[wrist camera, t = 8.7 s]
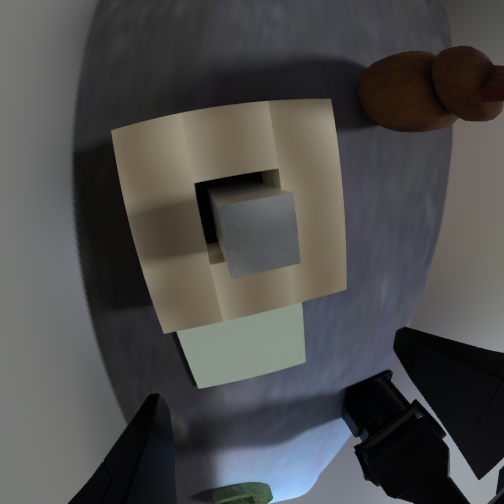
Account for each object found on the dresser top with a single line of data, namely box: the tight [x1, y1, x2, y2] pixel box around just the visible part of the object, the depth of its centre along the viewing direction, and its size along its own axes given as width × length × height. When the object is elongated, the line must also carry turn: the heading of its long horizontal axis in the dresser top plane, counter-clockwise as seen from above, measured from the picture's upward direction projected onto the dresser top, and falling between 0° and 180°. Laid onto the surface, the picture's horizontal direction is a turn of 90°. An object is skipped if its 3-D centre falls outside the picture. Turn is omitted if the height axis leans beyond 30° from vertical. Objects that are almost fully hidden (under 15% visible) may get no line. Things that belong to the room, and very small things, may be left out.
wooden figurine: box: [358, 46, 504, 132], centre depth 11 cm, size 7×6×15 cm
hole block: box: [111, 99, 346, 333], centre depth 16 cm, size 12×12×4 cm
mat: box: [176, 302, 306, 389], centre depth 22 cm, size 10×8×1 cm
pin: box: [207, 180, 301, 279], centre depth 15 cm, size 3×3×8 cm
